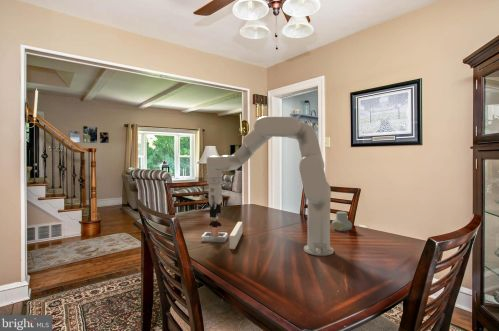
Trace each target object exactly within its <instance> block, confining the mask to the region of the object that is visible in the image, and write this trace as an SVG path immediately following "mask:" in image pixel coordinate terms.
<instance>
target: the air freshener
mask: <svg viewBox="0 0 499 331" xmlns="http://www.w3.org/2000/svg"><path fill="white" fill-rule="evenodd" d="M331 226H332V228H333V229H334V230H336V231H338V232H348V231H350V230H352V228H353V223H352V222H351V220H348V212H346V211H337V212H336V219H334V220H332V222H331Z"/></svg>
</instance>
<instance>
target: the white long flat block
mask: <svg viewBox="0 0 499 331" xmlns="http://www.w3.org/2000/svg"><path fill="white" fill-rule="evenodd" d="M242 234H243V221H238V222H237V223H236V224H235V226H234V227H233V230H232V231H231V233H230V234H229V250H230V249H231V250H235V249H236V248H237V245H238V243H239V241H240V239H241V236H242Z"/></svg>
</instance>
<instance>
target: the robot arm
mask: <svg viewBox="0 0 499 331" xmlns="http://www.w3.org/2000/svg"><path fill="white" fill-rule="evenodd" d="M272 137H275V138H279V137H280V138H282V137H283V138H289V139H294V140H296V141H297V143H298V147H299V151H300V155H301V160H300V161H299V164H298V165H299V166H298V167H299V168H298V169H299V174H300V178H301V179H300V180H301V183H302V188H303V193H304V195H305V198H306V199H307V244H306V245H304V246H303V251H304V252H306V254H308V255H312V256H317V257H318V256H319V257H326V256H331V255H332V254H334V251H335V250H334V248H333V247H332V246H331V199H332V198H331V197H332V196H331V195H332V194H331V193H332V191H331V189H332V188H331V186H330V183H329V182H328V181H327V177H326V173H325V162H324V159H323V156H322V151H321V146H320V144H319V138H318V136H317V133H316V131H315V129H314V128H313V127H312V126H311V125H310V124H308V123H306V122H304V121H302V120H301V121H300V120H298V119H297V118H295V117H292V116H266V115H265V116H261V117H259V118H257V119H256V120H255V121H254V125H253V129H251V131H249V132H248V133H247V134H246V135H245V136H244V137H243V138H242V143H241V146H240V147H239V148H238V149H237V150H236V151H235V152H234V153H232V154H230V155H229V154H224V155H210V156H207V157H206V184H207V185H208V203H209V218H212V217H217V216H218V215H217V214H222V208H221V207H222V205H221V203H222V202H223V190H222V184H223V171H225V172H229V171H236V170H237V169H239V168H241V167H242V166H243V165H244V164H245V163H246V162H247V161H249V159H251V158H252V156H253V155H255V153H256V151H258V150H259V149H260V148H261V147H262V146H264V145H265V144H266V143H267V142H268V141H269V140H271V138H272Z"/></svg>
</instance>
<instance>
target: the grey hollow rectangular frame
mask: <svg viewBox="0 0 499 331" xmlns="http://www.w3.org/2000/svg"><path fill="white" fill-rule="evenodd" d="M228 236H229V233H228V232H219V234H218V236H211V231H205V232H204V233H203V234H202V235H201V239H200V240H201V242H203V243H205V242H207V243H213V242H214V243H226V242H227V240H228V238H229V237H228Z"/></svg>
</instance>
